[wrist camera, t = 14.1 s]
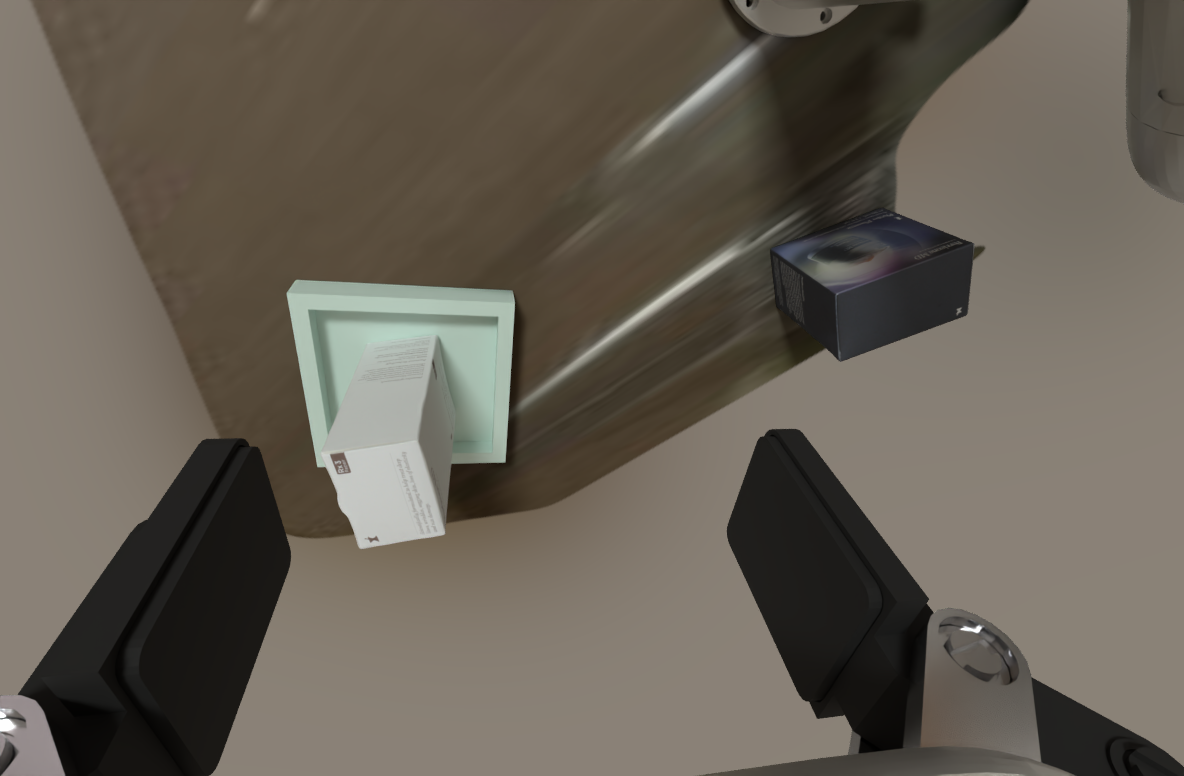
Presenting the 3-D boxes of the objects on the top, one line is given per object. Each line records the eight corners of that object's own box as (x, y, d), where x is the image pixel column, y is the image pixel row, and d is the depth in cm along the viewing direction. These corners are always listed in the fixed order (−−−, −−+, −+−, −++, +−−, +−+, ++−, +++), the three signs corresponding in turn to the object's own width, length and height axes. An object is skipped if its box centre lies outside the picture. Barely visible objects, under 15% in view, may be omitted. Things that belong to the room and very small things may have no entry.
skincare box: (457, 411, 48) (453, 539, 36) (387, 422, 47) (359, 557, 35) (436, 327, 43) (424, 441, 31) (358, 338, 42) (314, 459, 30)
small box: (884, 200, 46) (981, 238, 37) (883, 269, 49) (971, 317, 41) (767, 245, 46) (837, 292, 37) (775, 309, 50) (840, 366, 41)
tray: (512, 290, 44) (515, 303, 42) (503, 445, 52) (505, 462, 50) (295, 279, 40) (286, 293, 38) (323, 448, 48) (317, 467, 46)
